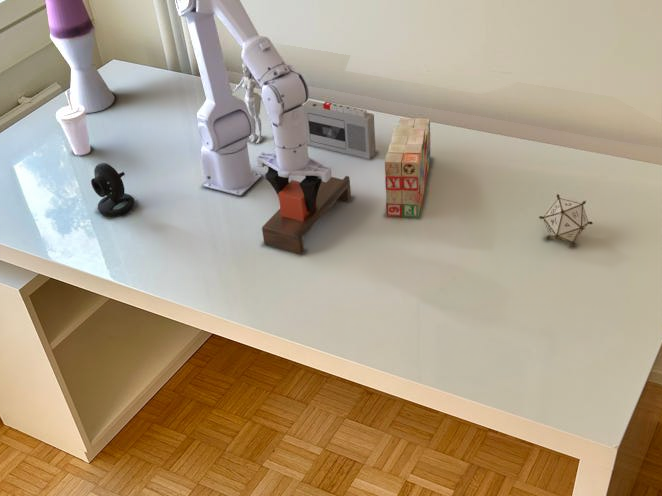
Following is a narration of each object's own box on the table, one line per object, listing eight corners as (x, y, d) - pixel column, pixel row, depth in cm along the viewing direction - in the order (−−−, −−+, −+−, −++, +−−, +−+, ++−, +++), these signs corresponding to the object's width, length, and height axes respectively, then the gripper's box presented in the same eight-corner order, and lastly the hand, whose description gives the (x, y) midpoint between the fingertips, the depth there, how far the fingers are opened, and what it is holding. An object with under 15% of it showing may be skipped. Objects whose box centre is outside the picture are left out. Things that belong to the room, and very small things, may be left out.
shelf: (264, 244, 165) (260, 222, 162) (316, 189, 177) (313, 168, 174) (300, 254, 162) (298, 232, 158) (351, 198, 174) (349, 176, 170)
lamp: (63, 113, 210) (9, -62, 182) (79, 91, 218) (29, -80, 190) (105, 113, 208) (57, -64, 181) (120, 92, 216) (76, -81, 188)
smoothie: (102, 147, 197) (85, 89, 187) (83, 161, 193) (64, 102, 183) (82, 141, 200) (64, 83, 190) (62, 154, 196) (43, 96, 186)
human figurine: (231, 137, 195) (218, 60, 183) (240, 129, 197) (228, 52, 185) (276, 148, 190) (266, 69, 178) (285, 140, 192) (276, 61, 180)
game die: (561, 261, 160) (553, 244, 151) (535, 226, 163) (526, 207, 154) (604, 232, 158) (598, 213, 149) (577, 197, 161) (570, 176, 152)
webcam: (90, 209, 179) (77, 166, 172) (119, 192, 182) (107, 150, 175) (113, 222, 175) (101, 179, 168) (142, 205, 178) (131, 162, 171)
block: (281, 216, 164) (277, 193, 161) (294, 202, 167) (291, 179, 164) (304, 222, 162) (301, 199, 159) (317, 207, 165) (314, 185, 162)
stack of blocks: (400, 157, 183) (399, 103, 175) (430, 158, 182) (431, 104, 173) (386, 216, 168) (384, 160, 160) (418, 218, 167) (418, 161, 158)
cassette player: (306, 144, 190) (301, 101, 183) (312, 138, 192) (308, 95, 185) (369, 158, 184) (367, 115, 177) (375, 152, 185) (373, 109, 178)
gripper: (244, 144, 155) (254, 208, 164) (315, 159, 149) (321, 225, 158) (264, 125, 159) (273, 189, 169) (334, 139, 153) (340, 205, 163)
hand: (298, 205), depth 164 cm, fingers closed on block, 5 cm apart
